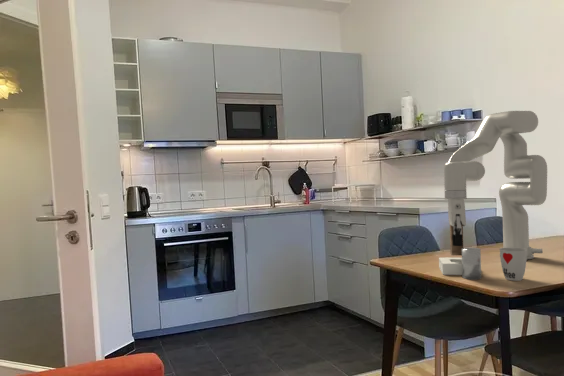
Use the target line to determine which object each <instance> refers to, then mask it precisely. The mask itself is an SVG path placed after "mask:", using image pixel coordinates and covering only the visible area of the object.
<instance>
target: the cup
mask: <svg viewBox="0 0 564 376" xmlns="http://www.w3.org/2000/svg"><path fill="white" fill-rule="evenodd" d="M499 258H500V264H501V269H502V273H503V275H504V279H506V280H508V281H514V282H516V281H517V282H518V281H519V282H520V281H523V278H524V275H525V272H526V267H527V260H528V259H527V250H526V249H523V248H511V247H509V248H503V247H500V248H499ZM526 259H527V260H526Z"/></svg>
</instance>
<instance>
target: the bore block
mask: <svg viewBox="0 0 564 376" xmlns="http://www.w3.org/2000/svg"><path fill="white" fill-rule="evenodd" d="M438 269H439V270H440V272H441V275H444V276H449V275H450V276H462V257H438Z"/></svg>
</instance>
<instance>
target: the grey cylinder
mask: <svg viewBox="0 0 564 376" xmlns="http://www.w3.org/2000/svg"><path fill="white" fill-rule="evenodd" d="M481 254H482V253H481V248H478V247H463V248H462V256H461V258H462V275H461V276H462V279H465V280H471V281H474V280H475V281H476V280H477V281H478V280H481V279H482V257H481V256H482V255H481Z"/></svg>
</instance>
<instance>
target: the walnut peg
mask: <svg viewBox="0 0 564 376" xmlns="http://www.w3.org/2000/svg"><path fill="white" fill-rule="evenodd" d="M454 224H455V222H454ZM454 226H457V225H456V224H455V225H454ZM461 227H462V246H453V235H454V234H453V226H451V225H450V224H449V250H450V251H449V252H450V253H449V254H450V256H461V257H462V248H464V226H463V225H462V222H461Z"/></svg>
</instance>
